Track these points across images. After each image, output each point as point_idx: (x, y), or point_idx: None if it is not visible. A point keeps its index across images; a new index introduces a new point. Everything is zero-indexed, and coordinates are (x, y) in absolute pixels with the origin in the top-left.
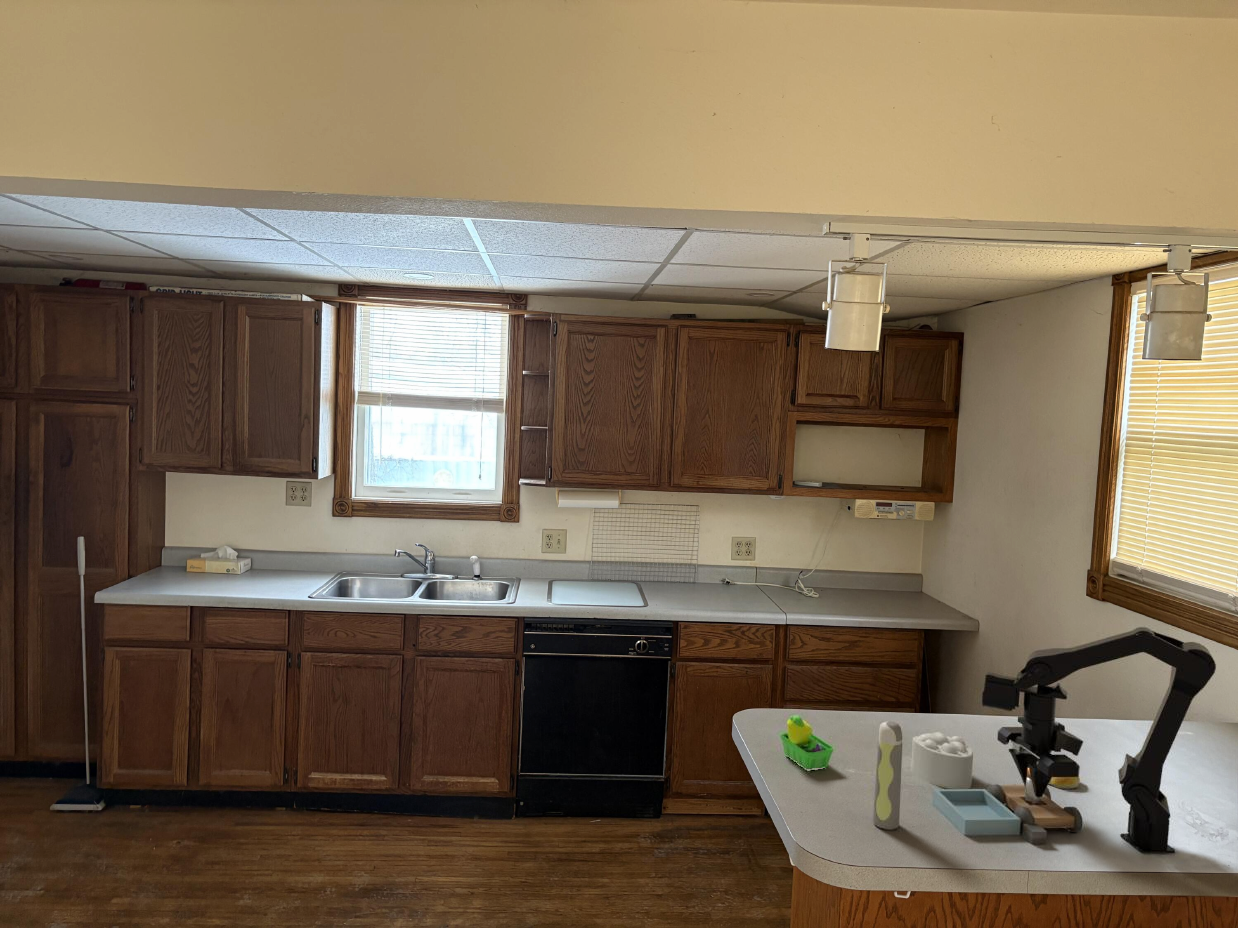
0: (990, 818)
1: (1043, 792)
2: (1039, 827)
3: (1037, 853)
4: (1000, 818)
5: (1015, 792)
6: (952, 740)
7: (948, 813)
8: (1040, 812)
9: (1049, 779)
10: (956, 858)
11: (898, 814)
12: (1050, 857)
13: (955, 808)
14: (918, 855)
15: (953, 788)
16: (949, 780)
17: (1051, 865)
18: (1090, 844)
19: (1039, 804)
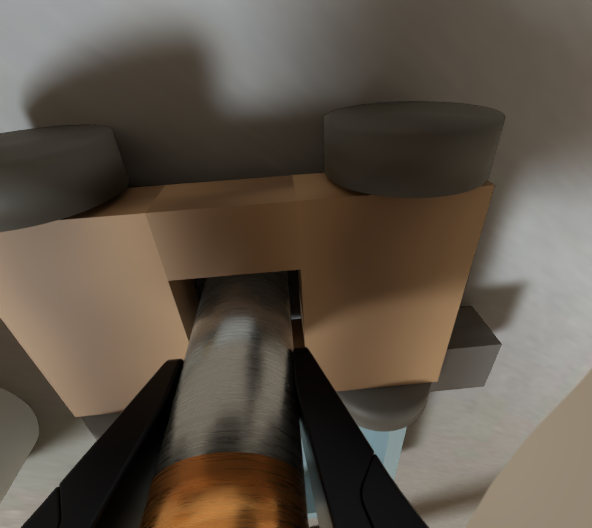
0: (387, 470)
1: (323, 373)
2: (462, 354)
3: (513, 351)
4: (391, 450)
5: (141, 364)
6: None
7: None
8: (391, 342)
9: (409, 508)
10: (466, 484)
11: None
12: (550, 327)
13: (313, 514)
14: (437, 517)
15: (37, 428)
16: (20, 466)
17: (588, 343)
18: (545, 108)
19: (287, 306)
